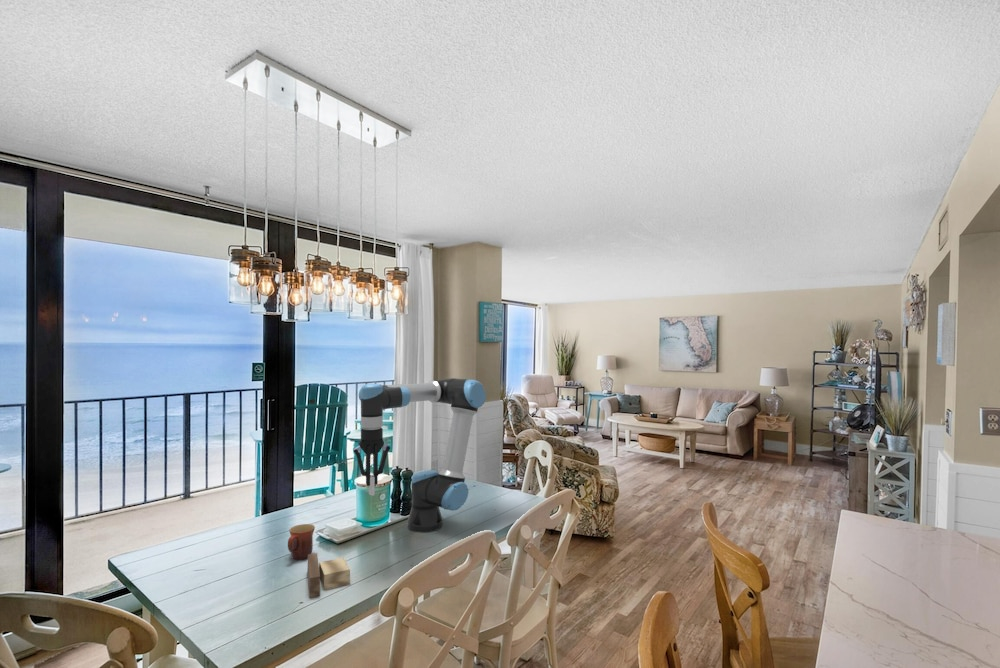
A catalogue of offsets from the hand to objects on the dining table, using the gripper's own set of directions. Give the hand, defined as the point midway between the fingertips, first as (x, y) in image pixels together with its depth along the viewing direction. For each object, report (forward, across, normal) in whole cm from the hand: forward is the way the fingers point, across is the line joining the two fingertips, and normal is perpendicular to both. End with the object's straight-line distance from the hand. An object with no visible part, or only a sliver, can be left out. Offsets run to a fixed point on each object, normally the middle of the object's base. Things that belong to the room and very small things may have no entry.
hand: (371, 494), depth 171 cm
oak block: (+25, +13, +6) cm, 29 cm away
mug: (+25, +23, -16) cm, 38 cm away
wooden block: (+25, +20, +6) cm, 32 cm away
